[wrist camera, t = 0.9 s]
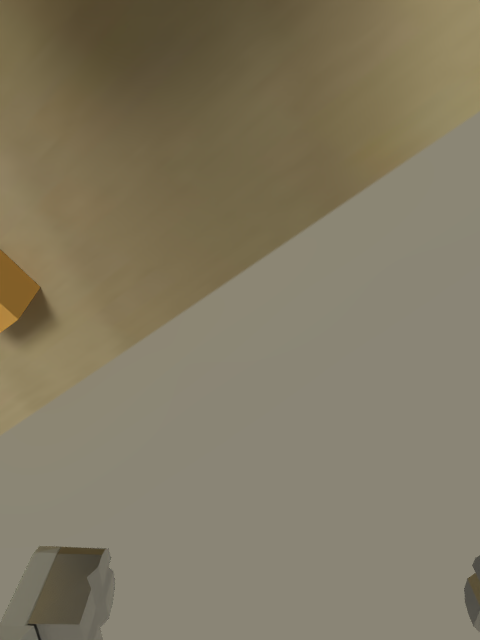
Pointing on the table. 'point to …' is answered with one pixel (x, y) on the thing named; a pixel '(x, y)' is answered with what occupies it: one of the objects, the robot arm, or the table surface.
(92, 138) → the table surface
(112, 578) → the robot arm
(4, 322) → the orange cube with knob
